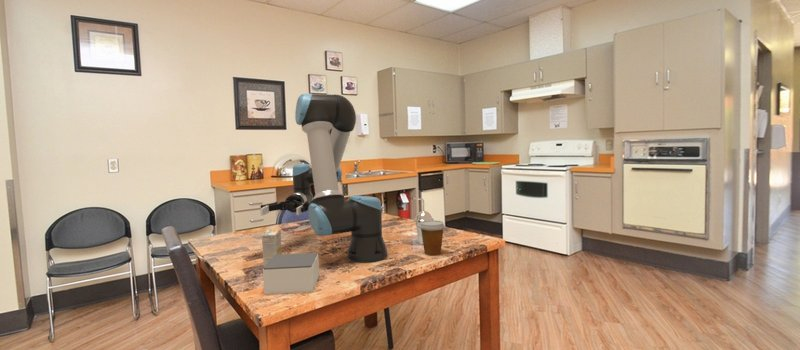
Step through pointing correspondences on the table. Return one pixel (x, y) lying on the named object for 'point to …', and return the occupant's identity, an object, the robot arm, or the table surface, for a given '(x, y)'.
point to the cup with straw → (421, 220)
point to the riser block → (291, 273)
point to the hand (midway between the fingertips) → (279, 212)
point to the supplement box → (271, 244)
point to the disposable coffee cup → (432, 236)
